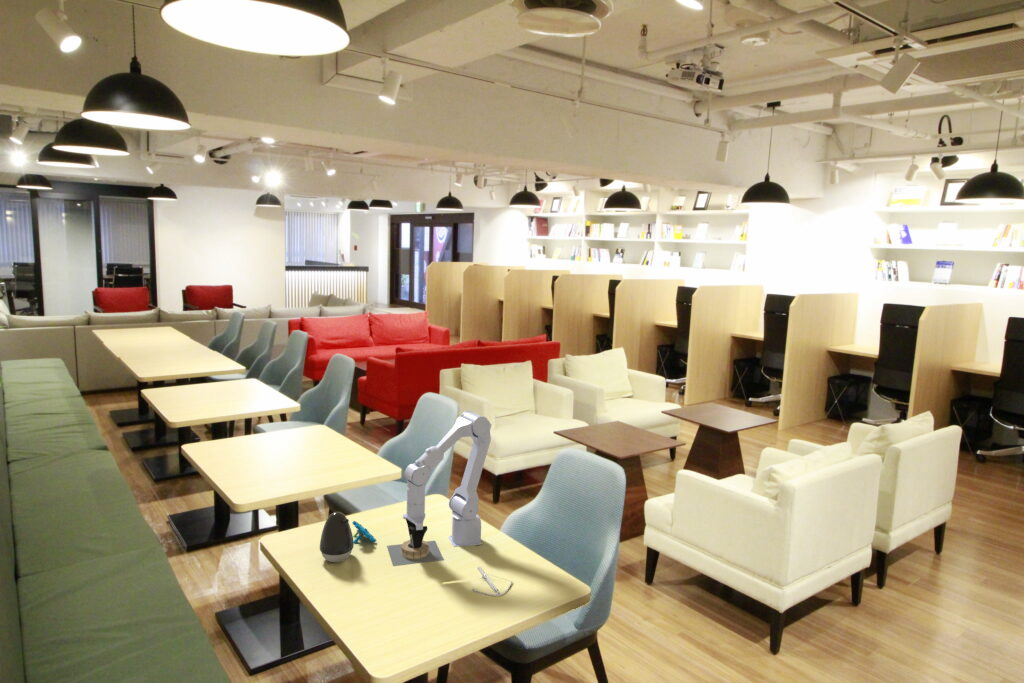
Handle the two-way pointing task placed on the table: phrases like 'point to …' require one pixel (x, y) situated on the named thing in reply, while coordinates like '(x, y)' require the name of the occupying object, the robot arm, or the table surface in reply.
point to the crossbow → (490, 584)
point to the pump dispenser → (336, 538)
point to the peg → (411, 542)
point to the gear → (362, 532)
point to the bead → (414, 550)
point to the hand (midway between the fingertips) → (415, 542)
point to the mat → (400, 560)
